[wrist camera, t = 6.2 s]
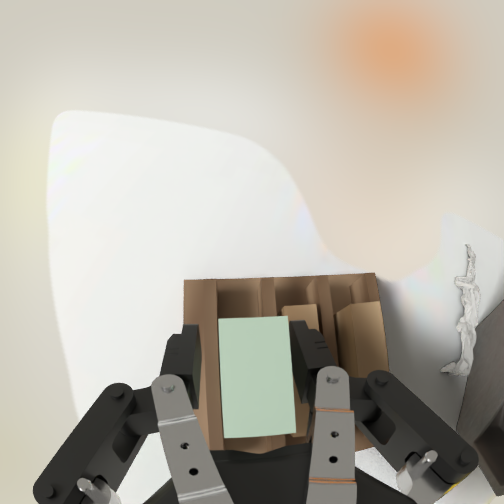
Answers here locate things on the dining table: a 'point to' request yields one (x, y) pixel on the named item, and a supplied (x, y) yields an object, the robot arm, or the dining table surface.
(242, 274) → the dining table surface
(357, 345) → the offcut
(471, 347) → the white statue
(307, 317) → the offcut
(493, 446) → the planter
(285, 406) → the pale green block
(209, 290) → the rack
